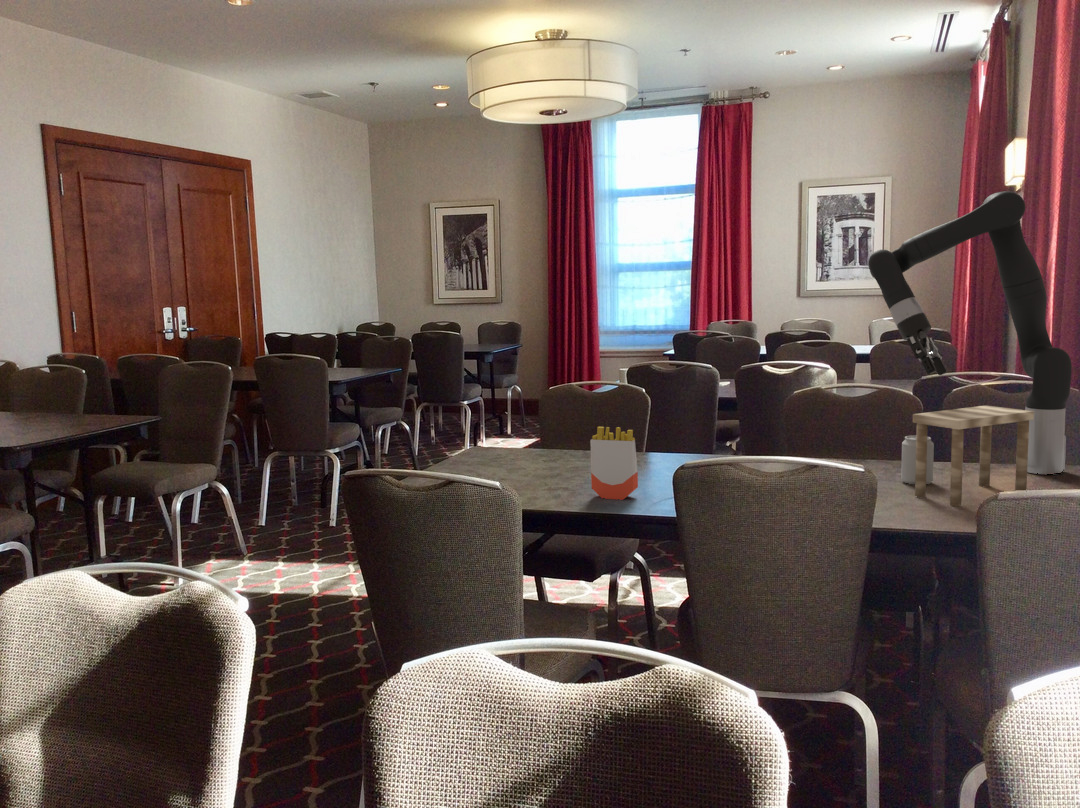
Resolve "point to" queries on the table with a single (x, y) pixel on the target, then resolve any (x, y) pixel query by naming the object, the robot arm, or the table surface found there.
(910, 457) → the can
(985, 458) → the stand
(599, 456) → the french fries container
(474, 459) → the table surface
